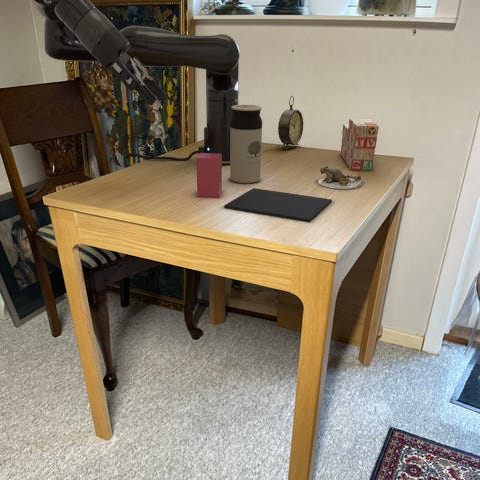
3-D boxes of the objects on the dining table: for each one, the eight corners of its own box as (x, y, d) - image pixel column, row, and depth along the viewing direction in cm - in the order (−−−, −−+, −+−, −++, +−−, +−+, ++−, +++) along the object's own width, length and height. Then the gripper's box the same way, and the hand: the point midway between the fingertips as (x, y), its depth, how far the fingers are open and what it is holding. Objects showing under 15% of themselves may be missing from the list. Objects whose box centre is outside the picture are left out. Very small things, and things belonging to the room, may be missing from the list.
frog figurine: (312, 186, 127) (313, 171, 125) (322, 175, 137) (323, 161, 135) (357, 191, 124) (359, 176, 122) (364, 180, 133) (366, 165, 131)
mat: (224, 207, 110) (224, 205, 110) (253, 190, 123) (253, 187, 123) (309, 222, 103) (309, 219, 103) (331, 201, 116) (331, 199, 115)
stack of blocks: (339, 154, 161) (344, 113, 155) (359, 154, 161) (364, 113, 155) (350, 170, 143) (356, 124, 136) (372, 170, 143) (379, 125, 136)
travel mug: (225, 177, 133) (225, 105, 124) (252, 175, 136) (254, 104, 127) (237, 185, 127) (238, 109, 118) (265, 182, 130) (268, 108, 121)
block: (197, 196, 118) (196, 157, 113) (200, 190, 122) (199, 152, 118) (218, 197, 117) (218, 158, 113) (221, 191, 122) (221, 153, 117)
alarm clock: (288, 151, 164) (291, 97, 156) (274, 149, 166) (276, 96, 158) (302, 145, 172) (306, 94, 164) (289, 143, 175) (292, 93, 166)
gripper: (102, 52, 113) (155, 108, 118) (79, 54, 101) (139, 117, 106) (123, 25, 110) (176, 84, 115) (101, 24, 97) (162, 90, 102)
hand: (158, 100), depth 110 cm, fingers open, 8 cm apart
